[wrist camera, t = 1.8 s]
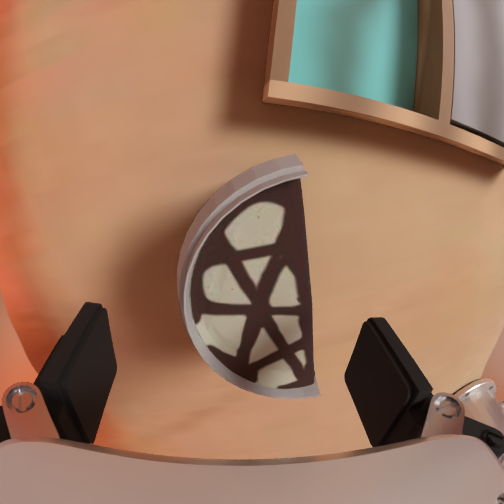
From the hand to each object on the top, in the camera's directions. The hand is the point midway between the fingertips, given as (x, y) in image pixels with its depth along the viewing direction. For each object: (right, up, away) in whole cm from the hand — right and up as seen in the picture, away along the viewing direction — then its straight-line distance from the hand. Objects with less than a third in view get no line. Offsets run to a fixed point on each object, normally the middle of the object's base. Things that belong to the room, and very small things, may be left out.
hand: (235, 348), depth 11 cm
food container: (0, +4, +12) cm, 12 cm away
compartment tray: (+14, +20, +6) cm, 25 cm away
